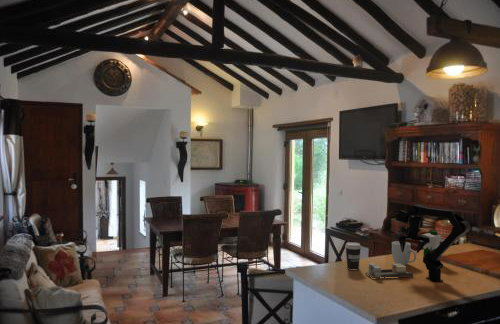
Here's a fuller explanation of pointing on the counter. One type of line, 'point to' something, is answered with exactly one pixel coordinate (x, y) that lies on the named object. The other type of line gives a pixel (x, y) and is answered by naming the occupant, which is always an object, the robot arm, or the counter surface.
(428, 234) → the milk carton
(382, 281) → the counter surface
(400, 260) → the mug
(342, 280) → the counter surface
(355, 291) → the counter surface
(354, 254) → the coffee cup
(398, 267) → the block
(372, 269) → the track
